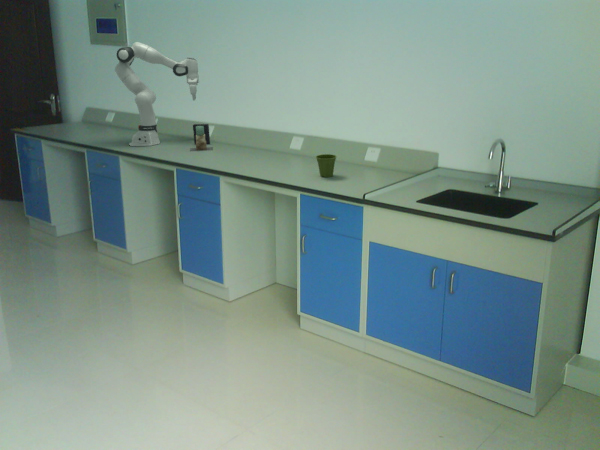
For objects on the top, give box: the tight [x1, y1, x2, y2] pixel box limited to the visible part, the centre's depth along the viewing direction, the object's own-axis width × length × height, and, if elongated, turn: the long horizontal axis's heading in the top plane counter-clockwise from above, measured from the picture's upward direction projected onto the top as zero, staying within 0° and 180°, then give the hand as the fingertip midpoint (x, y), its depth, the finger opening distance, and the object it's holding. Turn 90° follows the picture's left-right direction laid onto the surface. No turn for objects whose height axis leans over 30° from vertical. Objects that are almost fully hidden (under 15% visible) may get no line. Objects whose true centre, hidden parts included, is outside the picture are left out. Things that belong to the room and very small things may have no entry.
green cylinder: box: [196, 126, 204, 136], centre depth 420 cm, size 6×6×6 cm
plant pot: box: [315, 153, 337, 178], centre depth 340 cm, size 12×12×11 cm
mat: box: [189, 146, 214, 152], centre depth 424 cm, size 16×12×1 cm
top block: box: [196, 134, 205, 143], centre depth 421 cm, size 6×6×5 cm
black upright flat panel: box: [192, 123, 211, 146], centre depth 440 cm, size 11×4×15 cm, turn 84°
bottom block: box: [195, 141, 208, 150], centre depth 423 cm, size 7×7×5 cm
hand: (194, 99), depth 448 cm, fingers open, 8 cm apart
